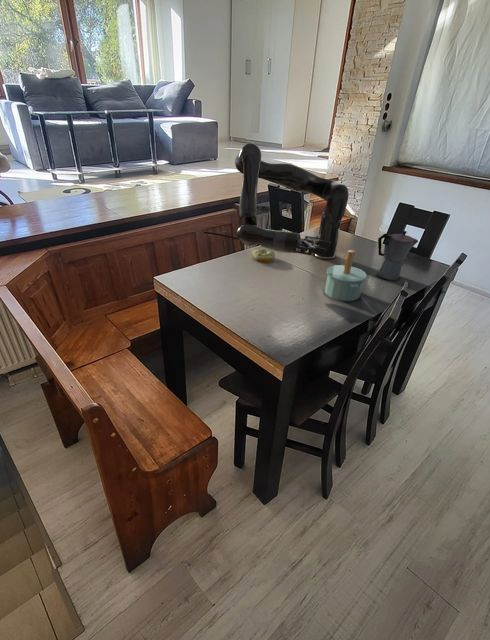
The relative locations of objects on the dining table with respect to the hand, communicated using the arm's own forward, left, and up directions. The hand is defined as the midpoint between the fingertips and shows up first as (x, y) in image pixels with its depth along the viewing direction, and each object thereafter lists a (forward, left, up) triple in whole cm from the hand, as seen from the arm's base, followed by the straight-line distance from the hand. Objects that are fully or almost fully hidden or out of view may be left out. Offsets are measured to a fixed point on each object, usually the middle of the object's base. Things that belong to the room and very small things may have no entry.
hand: (327, 248), depth 137 cm
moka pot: (+14, +32, -17) cm, 39 cm away
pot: (+9, +2, -17) cm, 19 cm away
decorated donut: (-36, +7, -17) cm, 41 cm away
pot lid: (+9, +2, -8) cm, 12 cm away
